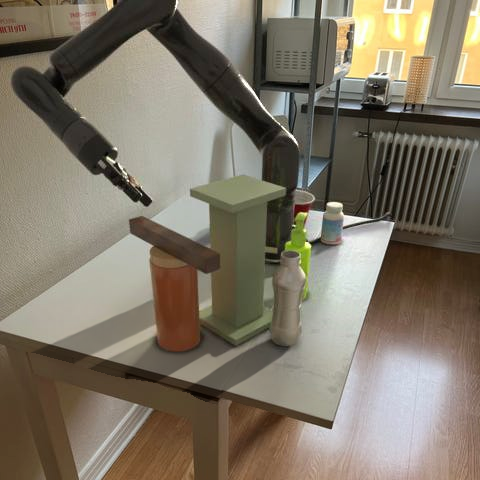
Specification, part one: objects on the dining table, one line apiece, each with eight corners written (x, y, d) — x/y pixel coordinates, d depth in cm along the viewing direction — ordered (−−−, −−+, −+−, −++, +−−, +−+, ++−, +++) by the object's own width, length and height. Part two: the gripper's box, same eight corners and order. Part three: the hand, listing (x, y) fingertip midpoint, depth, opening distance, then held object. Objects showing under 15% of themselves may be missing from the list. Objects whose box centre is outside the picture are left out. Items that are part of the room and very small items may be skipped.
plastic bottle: (266, 332, 106) (270, 247, 95) (297, 331, 106) (305, 246, 95) (270, 350, 100) (275, 262, 89) (303, 349, 101) (311, 261, 90)
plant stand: (193, 319, 110) (186, 187, 94) (238, 297, 118) (239, 173, 102) (235, 346, 102) (236, 206, 85) (281, 321, 110) (290, 189, 93)
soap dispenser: (309, 289, 122) (316, 212, 111) (303, 302, 116) (310, 223, 105) (286, 285, 123) (291, 209, 113) (279, 298, 118) (284, 219, 107)
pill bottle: (340, 246, 144) (345, 209, 138) (319, 244, 145) (323, 207, 139) (341, 237, 149) (345, 202, 143) (321, 236, 150) (324, 200, 144)
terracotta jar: (194, 324, 108) (190, 237, 97) (205, 347, 101) (201, 256, 90) (154, 331, 106) (145, 243, 95) (162, 355, 99) (152, 263, 88)
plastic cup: (302, 242, 145) (305, 203, 139) (270, 234, 150) (271, 196, 144) (317, 230, 153) (321, 193, 147) (286, 223, 158) (288, 186, 151)
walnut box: (130, 233, 99) (128, 219, 97) (143, 229, 101) (142, 215, 99) (206, 274, 84) (205, 258, 82) (220, 268, 86) (220, 253, 84)
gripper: (89, 124, 96) (148, 184, 97) (113, 141, 110) (164, 193, 111) (64, 153, 97) (122, 211, 98) (90, 166, 111) (141, 217, 112)
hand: (144, 201), depth 104 cm, fingers open, 8 cm apart
